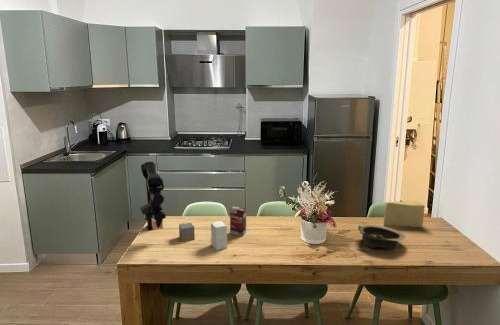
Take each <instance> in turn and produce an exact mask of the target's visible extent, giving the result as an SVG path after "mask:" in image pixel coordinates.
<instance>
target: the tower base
mask: <svg viewBox="0 0 500 325" xmlns="http://www.w3.org/2000/svg"><path fill="white" fill-rule="evenodd" d="M178 234H179V239H180V240H181V242H182V243H183V242H189V241H194V240H195V239H196V238H195V236H196V235H195V233H194V234H188V235H182V234H181V233H180V231H178Z"/></svg>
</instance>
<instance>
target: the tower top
mask: <svg viewBox="0 0 500 325" xmlns="http://www.w3.org/2000/svg"><path fill="white" fill-rule="evenodd" d="M178 230H179V231H180V233H181V234H182V235H188V234H195V226H194V225H193V223H192V222H187V223H186V222H185V223H180V224H178ZM179 231H178V232H179Z"/></svg>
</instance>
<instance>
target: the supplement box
mask: <svg viewBox="0 0 500 325" xmlns="http://www.w3.org/2000/svg"><path fill="white" fill-rule="evenodd" d="M229 225H230V226H229V227H230V228H229V229H230V230H229V232H230V233H229V234H230V235H236V236H240V237H244V236H245V235H246V234H247V207H241V206H240V207H239V206H231V208H229Z"/></svg>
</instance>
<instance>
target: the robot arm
mask: <svg viewBox="0 0 500 325" xmlns="http://www.w3.org/2000/svg"><path fill="white" fill-rule="evenodd" d="M139 169H140V173H141V176H142V177H143V178H144V180H145V191H146V202H147V203H146V204H145V205H142V206H140V207H139V209H140V212H141V213H142V215H143V217H144V220H145V221H146V222H147V225H146V226H145V227H146V229H147V231H150V230H154V229H153V228H152V218H153V219H154V220H156V224H157V228H159V227H160V225H161V222H162V221H163V220H164V219H166V216H167V215H166V213H165V212H164V211H163V207H162V204H163V203H164V201H165V197H164V196H163V194H162V191H164V188H165V185H164V181H163V178H161V175H160V174H158V173H157V172H156V170H157V168H156V163H155V162H154V161H146V162H143V163H142V164H141V165H140V168H139Z"/></svg>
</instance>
